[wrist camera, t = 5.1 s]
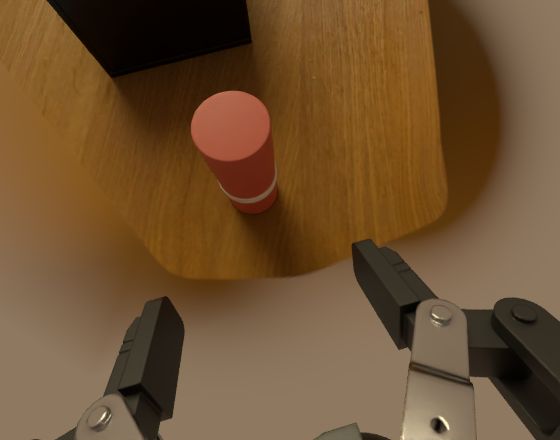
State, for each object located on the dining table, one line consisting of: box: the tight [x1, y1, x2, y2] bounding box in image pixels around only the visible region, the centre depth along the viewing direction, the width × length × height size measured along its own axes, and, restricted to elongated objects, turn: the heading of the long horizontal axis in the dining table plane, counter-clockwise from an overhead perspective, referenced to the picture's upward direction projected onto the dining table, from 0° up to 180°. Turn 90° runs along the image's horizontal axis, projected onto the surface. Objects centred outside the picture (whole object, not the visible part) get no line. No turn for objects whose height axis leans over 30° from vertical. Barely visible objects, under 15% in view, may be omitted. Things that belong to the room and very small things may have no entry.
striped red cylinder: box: [191, 91, 277, 214], centre depth 23 cm, size 5×5×12 cm
